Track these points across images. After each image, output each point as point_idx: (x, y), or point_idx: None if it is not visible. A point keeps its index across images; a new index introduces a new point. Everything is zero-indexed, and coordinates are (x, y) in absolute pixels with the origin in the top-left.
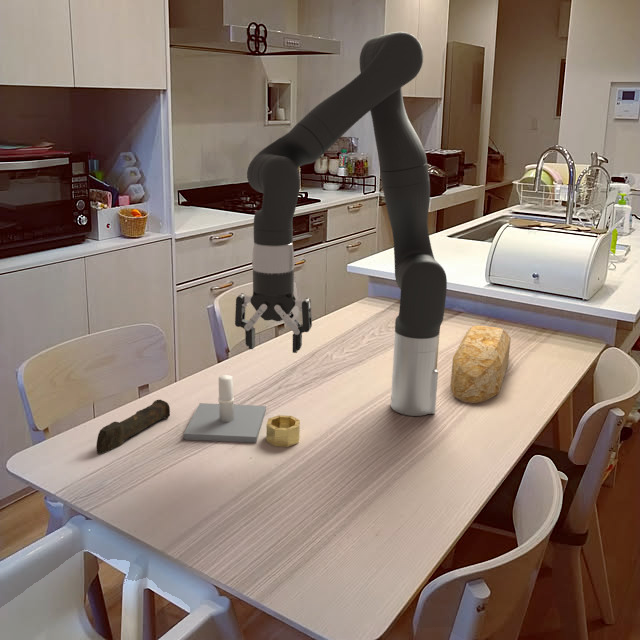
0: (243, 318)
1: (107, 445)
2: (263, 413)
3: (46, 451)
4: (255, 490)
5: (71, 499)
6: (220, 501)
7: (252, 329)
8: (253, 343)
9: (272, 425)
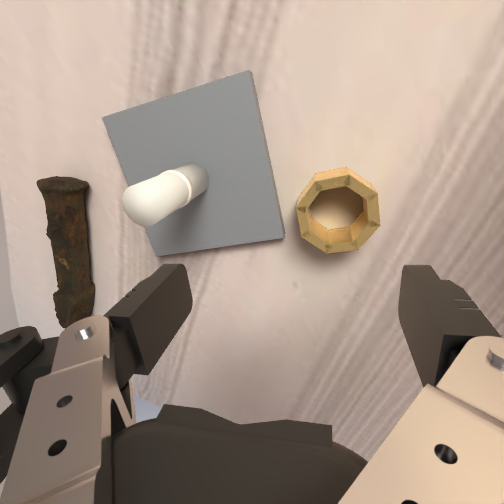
0: (13, 368)
1: (87, 313)
2: (259, 119)
3: (34, 317)
4: (332, 364)
5: (137, 395)
6: (294, 388)
7: (133, 350)
8: (179, 299)
9: (315, 236)
